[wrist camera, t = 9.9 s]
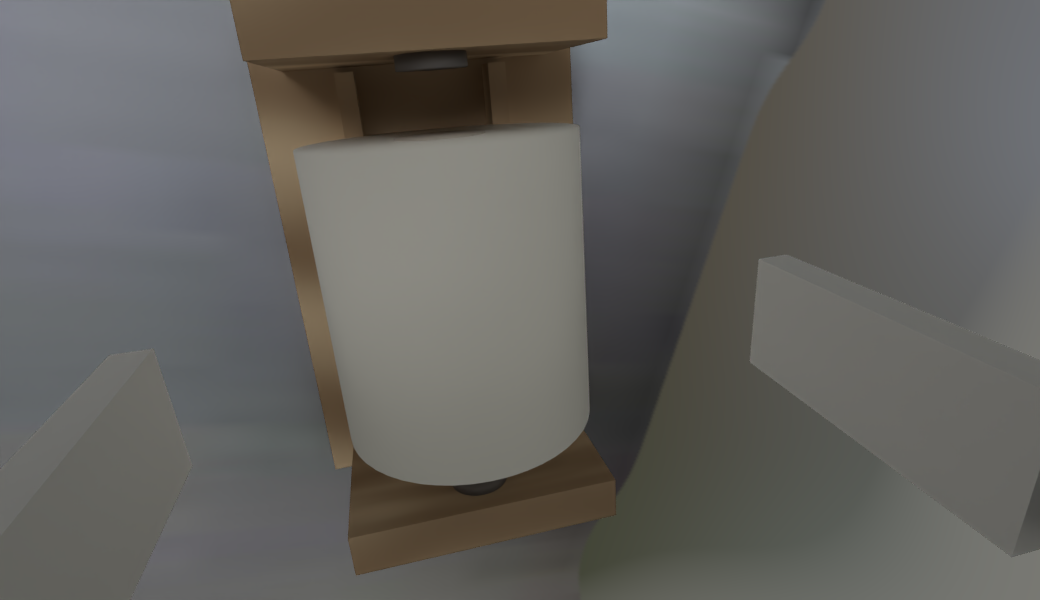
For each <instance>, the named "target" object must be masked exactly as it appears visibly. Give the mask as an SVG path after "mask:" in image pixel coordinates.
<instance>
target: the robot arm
mask: <svg viewBox="0 0 1040 600" xmlns="http://www.w3.org/2000/svg"><path fill="white" fill-rule="evenodd" d="M750 363H751V364H753V365H754V366H755V367H757V368H758V369H759V370H761V371H762V372H763V373H765V374H766V375H767V376H769V377H770V378H772V379H773V380H774V381H776V382H777V383H778V384H780V385H781V386H782V387H784V388H785V389H786V390H788V391H789V392H790V393H792V394H793V395H794V396H796V397H797V398H798V399H800V400H801V401H802V402H804V403H805V404H806V405H808V406H809V407H811V408H812V409H813V410H814V411H816V412H817V413H819V414H820V415H821V416H823V417H824V418H825V419H827V420H828V421H829V422H831V423H832V424H833V425H835V426H836V427H837V428H839V429H840V430H841V431H843V432H844V433H845V434H847V435H848V436H849V437H851V438H852V439H854V440H855V441H856V442H858V443H859V444H860V445H862V446H863V447H865V448H866V449H867V450H868V451H870V452H871V453H872V454H874V455H875V456H876V457H878V458H879V459H880V460H882V461H883V462H885V463H886V464H887V465H888V466H890V467H891V468H893V469H894V470H895V471H897V472H898V473H900V474H901V475H902V476H903V477H905V478H906V479H907V480H909V481H910V482H911V483H913V484H914V485H915V486H917V487H918V488H919V489H921V490H922V491H923V492H925V493H926V494H928V495H929V496H930V497H931V498H933V499H934V500H936V501H937V502H938V503H940V504H941V505H942V506H944V507H945V508H946V509H948V510H949V511H951V512H952V513H953V514H954V515H956V516H957V517H958V518H960V519H961V520H962V521H964V522H965V523H967V524H968V525H969V526H970V527H972V528H973V529H975V530H976V531H977V532H979V533H980V534H981V535H983V536H984V537H985V538H987V539H988V540H989V541H991V542H992V543H993V544H995V545H996V546H997V547H999V548H1000V549H1002V550H1003V551H1004V552H1005V553H1007V554H1008V555H1010V556H1011V557H1014V556H1018V555H1021V554H1025V553H1028V552H1032V551H1035V550H1039V549H1040V360H1039V359H1036V358H1034V357H1031V356H1029V355H1027V354H1024V353H1022V352H1019V351H1017V350H1014V349H1012V348H1010V347H1007V346H1005V345H1002V344H1000V343H998V342H995V341H993V340H991V339H988V338H986V337H983V336H981V335H978V334H976V333H974V332H972V331H969V330H967V329H964V328H962V327H959V326H957V325H955V324H952V323H950V322H948V321H945V320H943V319H940V318H938V317H935V316H933V315H931V314H928V313H926V312H924V311H921V310H919V309H916V308H914V307H911V306H909V305H907V304H904V303H902V302H900V301H897V300H895V299H892V298H890V297H888V296H885V295H883V294H881V293H878V292H876V291H873V290H871V289H869V288H866V287H864V286H861V285H859V284H857V283H854V282H852V281H849V280H847V279H844V278H842V277H840V276H837V275H835V274H833V273H830V272H828V271H825V270H823V269H820V268H818V267H816V266H813V265H811V264H809V263H806V262H804V261H801V260H799V259H797V258H794V257H792V256H789V255H781V256H774V257H767V258H761V259H759V262H758V273H757V285H756V295H755V306H754V318H753V329H752V340H751V352H750ZM191 468H192V463H191V460H190V457H189V454H188V451H187V448H186V445H185V442H184V439H183V436H182V433H181V430H180V427H179V424H178V421H177V418H176V415H175V412H174V409H173V406H172V403H171V400H170V397H169V394H168V391H167V388H166V385H165V382H164V379H163V376H162V373H161V370H160V367H159V364H158V361H157V358H156V355H155V352H154V349H147V350H140V351H133V352H126V353H120V354H113V355H109V356H108V357H107V358H106V359H105V360H104V361H103V362H102V363H101V364H100V365H99V366H98V367H97V369H96V370H95V371H94V372H93V373H92V374H91V375H90V376H89V377H88V378H87V379H86V380H85V381H84V382H83V383H82V384H81V385H80V386H79V387H78V388H77V389H76V391H75V392H74V393H73V394H72V395H71V396H70V397H69V398H68V399H67V400H66V401H65V402H64V403H63V404H62V405H61V406H60V407H59V408H58V409H57V410H56V411H55V412H54V414H53V415H52V416H51V417H50V418H49V419H48V420H47V421H46V422H45V423H44V424H43V425H42V426H41V427H40V428H39V429H38V430H37V431H36V432H35V433H34V434H33V435H32V437H31V438H30V439H29V440H28V441H27V442H26V443H25V444H24V445H23V446H22V447H21V448H20V449H19V450H18V451H17V452H16V453H15V454H14V455H13V456H12V457H11V459H10V460H9V461H8V462H7V463H6V464H5V465H4V466H3V467H2V468H1V469H0V600H130V599H131V597H132V595H133V593H134V591H135V589H136V586H137V584H138V582H139V580H140V578H141V576H142V573H143V571H144V569H145V567H146V565H147V563H148V561H149V558H150V556H151V554H152V552H153V550H154V548H155V545H156V543H157V541H158V539H159V537H160V535H161V533H162V530H163V528H164V526H165V524H166V522H167V520H168V518H169V515H170V513H171V511H172V509H173V507H174V505H175V502H176V500H177V498H178V496H179V494H180V492H181V490H182V487H183V485H184V483H185V481H186V479H187V477H188V474H189V472H190V470H191Z"/></svg>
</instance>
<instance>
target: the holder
mask: <svg viewBox="0 0 1040 600" xmlns="http://www.w3.org/2000/svg"><path fill="white" fill-rule="evenodd" d="M230 4H231V8H232V13H233V17H234V22H235V26H236V31H237V36H238V40H239V45H240V49H241V54H242V58H243V61H246V62H247V64H248V68H249V73H250V77H251V82H252V87H253V91H254V96H255V100H256V105H257V110H258V114H259V119H260V123H261V128H262V133H263V137H264V142H265V146H266V151H267V156H268V160H269V165H270V169H271V174H272V179H273V183H274V188H275V192H276V197H277V202H278V206H279V211H280V215H281V220H282V225H283V229H284V234H285V238H286V243H287V248H288V252H289V257H290V261H291V266H292V271H293V275H294V280H295V284H296V289H297V294H298V298H299V303H300V307H301V312H302V317H303V321H304V326H305V331H306V335H307V340H308V344H309V349H310V354H311V358H312V363H313V367H314V372H315V377H316V381H317V386H318V390H319V395H320V400H321V404H322V409H323V413H324V418H325V423H326V427H327V432H328V436H329V441H330V446H331V450H332V455H333V459H334V464H335V469H340V468H345V467H350V466H352V477H351V495H350V512H349V529H348V541H349V546H350V550H351V555H352V560H353V564H354V569H355V573H356V575H360V574H365V573H369V572H373V571H377V570H382V569H386V568H390V567H395V566H399V565H403V564H408V563H412V562H416V561H420V560H425V559H429V558H433V557H438V556H442V555H446V554H451V553H455V552H459V551H463V550H468V549H472V548H476V547H481V546H485V545H489V544H494V543H498V542H502V541H506V540H511V539H515V538H519V537H524V536H528V535H532V534H537V533H541V532H545V531H549V530H554V529H558V528H562V527H567V526H571V525H575V524H580V523H584V522H588V521H592V520H597V519H601V518H605V517H609V516H614V515H616V489H615V479H614V477H613V476H612V474H611V472H610V471H609V469H608V468H607V466H606V464H605V463H604V461H603V460H602V458H601V457H600V455H599V453H598V452H597V450H596V449H595V447H594V445H593V444H592V442H591V441H590V439H589V438H588V436H587V434H586V433H585V431H584V430H583V431H582V433H581V434H580V435H579V437H578V438H577V439H576V440H575V441H574V442H573V443H572V444H571V445H570V446H569V447H568V448H567V449H565V450H564V451H563V452H561V453H560V454H559V455H557V456H556V457H554V458H552V459H551V460H549V461H547V462H545V463H544V464H542V465H539V466H537V467H535V468H533V469H530V470H528V471H525V472H523V473H520V474H517V475H514V476H511V477H507V478H503V479H499V480H495V481H490V482H484V483H477V484H469V485H456V486H443V485H426V484H417V483H413V482H408V481H403V480H399V479H396V478H393V477H390V476H387V475H385V474H383V473H381V472H379V471H377V470H375V469H374V468H372V467H371V466H369V465H368V464H366V463H365V462H364V461H363V460H362V459H361V458H360V457H359V455H358V454H357V452H356V450H355V449H354V447H353V443H352V440H351V435H350V430H349V425H348V421H347V416H346V411H345V406H344V401H343V396H342V391H341V386H340V381H339V376H338V371H337V366H336V361H335V357H334V352H333V347H332V342H331V337H330V332H329V327H328V322H327V317H326V312H325V307H324V302H323V297H322V293H321V288H320V283H319V278H318V273H317V268H316V263H315V258H314V253H313V248H312V243H311V238H310V233H309V228H308V224H307V219H306V214H305V209H304V204H303V199H302V194H301V189H300V184H299V179H298V174H297V169H296V164H295V160H294V155H293V150H294V149H296V148H299V147H303V146H307V145H311V144H316V143H321V142H327V141H333V140H339V139H346V138H353V137H361V136H369V135H377V134H385V133H395V132H404V131H414V130H425V129H436V128H448V127H461V126H476V125H493V124H514V123H568V124H573V115H572V89H571V63H570V47H574V46H578V45H582V44H586V43H590V42H594V41H598V40H602V39H606V38H607V0H230Z"/></svg>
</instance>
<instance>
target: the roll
mask: <svg viewBox="0 0 1040 600" xmlns="http://www.w3.org/2000/svg"><path fill="white" fill-rule="evenodd" d="M293 155H294V160H295V164H296V169H297V174H298V179H299V184H300V189H301V194H302V199H303V204H304V209H305V214H306V219H307V224H308V228H309V233H310V238H311V243H312V248H313V253H314V258H315V263H316V268H317V273H318V278H319V283H320V288H321V293H322V297H323V302H324V307H325V312H326V317H327V322H328V327H329V332H330V337H331V342H332V347H333V352H334V357H335V361H336V366H337V371H338V376H339V381H340V386H341V391H342V396H343V401H344V406H345V411H346V416H347V421H348V425H349V430H350V435H351V440H352V443H353V447H354V449H355V450H356V452H357V454H358V455H359V457H360V458H361V459H362V460H363V461H364V462H365V463H366V464H368V465H369V466H371V467H372V468H374V469H375V470H377V471H379V472H381V473H383V474H385V475H387V476H390V477H393V478H396V479H399V480H403V481H408V482H413V483H417V484H426V485H443V486H456V485H469V484H477V483H484V482H490V481H495V480H499V479H503V478H507V477H511V476H514V475H517V474H520V473H523V472H525V471H528V470H530V469H533V468H535V467H537V466H539V465H542V464H544V463H545V462H547V461H549V460H551V459H552V458H554V457H556V456H557V455H559V454H560V453H561V452H563V451H564V450H565V449H567V448H568V447H569V446H570V445H571V444H572V443H573V442H574V441H575V440H576V439H577V438H578V437H579V435H580V434H581V433H582V431H583V430H584V428H585V426H586V424H587V422H588V418H589V414H590V401H589V373H588V345H587V318H586V290H585V262H584V234H583V206H582V178H581V150H580V126H579V125H576V124H568V123H514V124H493V125H476V126H461V127H448V128H436V129H425V130H414V131H404V132H395V133H385V134H377V135H369V136H361V137H353V138H346V139H339V140H333V141H327V142H321V143H316V144H311V145H307V146H303V147H299V148H296V149H294V150H293Z"/></svg>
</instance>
